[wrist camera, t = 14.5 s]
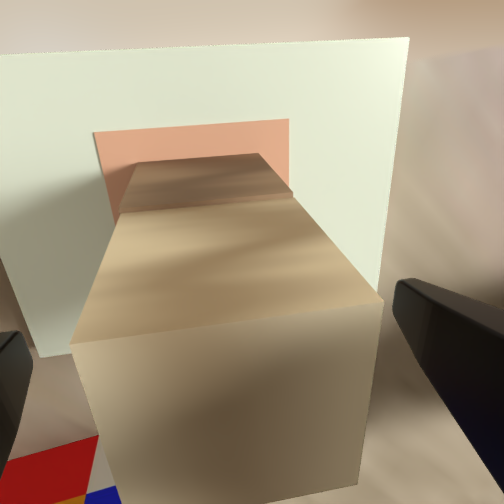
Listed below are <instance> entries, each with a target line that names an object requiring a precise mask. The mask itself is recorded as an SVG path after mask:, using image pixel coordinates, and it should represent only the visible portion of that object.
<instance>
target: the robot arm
mask: <svg viewBox="0 0 504 504" xmlns="http://www.w3.org/2000/svg"><path fill="white" fill-rule="evenodd" d="M392 310H393V314H394V317H395V319H396V321H397V323H398V325H399V327H400V329H401V331H402V333H403V334H404V336H405V338H406V340H407V342H408V344H409V346H410V348H411V350H412V352H413V354H414V356H415V358H416V360H417V361H418V363H419V365H420V367H421V368H422V370H423V371H424V373H425V375H426V376H427V378H428V379H429V381H430V382H431V384H432V385H433V387H434V388H435V390H436V391H437V393H438V394H439V396H440V397H441V399H442V400H443V402H444V404H445V405H446V407H447V408H448V410H449V411H450V413H451V414H452V416H453V417H454V419H455V420H456V422H457V423H458V425H459V426H460V428H461V429H462V431H463V432H464V434H465V435H466V437H467V439H468V440H469V442H470V443H471V445H472V446H473V448H474V449H475V451H476V452H477V454H478V455H479V457H480V458H481V460H482V461H483V463H484V464H485V466H486V467H487V469H488V470H489V472H490V474H491V475H492V477H493V478H494V480H495V481H496V483H497V484H498V486H499V487H500V489H501V490H502V492H503V493H504V310H502V309H499V308H497V307H494V306H491V305H488V304H485V303H483V302H480V301H477V300H474V299H472V298H469V297H466V296H463V295H460V294H458V293H455V292H452V291H449V290H446V289H444V288H441V287H438V286H435V285H433V284H430V283H427V282H424V281H421V280H419V279H416V278H408V279H401V280H399V281H397V283H396V286H395V292H394V299H393V305H392ZM32 370H33V359H32V356H31V354H30V351H29V349H28V346H27V344H26V341H25V339H24V336H23V334H22V333H21V332H19V331H9V332H1V333H0V480H1V477H2V474H3V471H4V468H5V466H6V463H7V460H8V457H9V455H10V452H11V449H12V446H13V444H14V441H15V438H16V435H17V432H18V428H19V424H20V420H21V416H22V412H23V408H24V404H25V399H26V395H27V391H28V387H29V383H30V379H31V374H32Z"/></svg>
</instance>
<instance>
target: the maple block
mask: <svg viewBox="0 0 504 504" xmlns="http://www.w3.org/2000/svg"><path fill="white" fill-rule="evenodd" d="M383 308H384V301H383V299H382V298H381V297H380V296H379V295H378V294H377V292H376V291H375V290H374V289H373V288H372V287H371V285H370V284H369V283H368V282H367V281H366V280H365V279H364V277H363V276H362V275H361V274H360V273H359V272H358V270H357V269H356V268H355V267H354V266H353V265H352V263H351V262H350V261H349V260H348V259H347V258H346V256H345V255H344V254H343V253H342V252H341V251H340V250H339V248H338V247H337V246H336V245H335V244H334V243H333V241H332V240H331V239H330V238H329V237H328V236H327V234H326V233H325V232H324V231H323V230H322V229H321V227H320V226H319V225H318V224H317V223H316V222H315V220H314V219H313V218H312V217H311V216H310V215H309V214H308V212H307V211H306V210H305V209H304V208H303V207H302V205H301V204H300V203H299V202H298V201H297V200H296V198H295V197H292V198H282V199H271V200H260V201H249V202H239V203H228V204H217V205H206V206H196V207H185V208H174V209H163V210H153V211H142V212H131V213H121V214H120V217H119V219H118V222H117V224H116V227H115V229H114V232H113V234H112V237H111V240H110V242H109V245H108V247H107V250H106V252H105V255H104V257H103V260H102V262H101V265H100V267H99V270H98V272H97V275H96V277H95V280H94V283H93V285H92V288H91V290H90V293H89V295H88V298H87V300H86V303H85V305H84V308H83V310H82V313H81V315H80V318H79V320H78V323H77V326H76V328H75V331H74V333H73V336H72V338H71V341H70V343H69V346H70V349H71V352H72V355H73V358H74V361H75V364H76V367H77V370H78V373H79V376H80V379H81V382H82V385H83V388H84V391H85V394H86V397H87V400H88V403H89V407H90V410H91V413H92V416H93V419H94V422H95V425H96V428H97V431H98V434H99V437H100V440H101V443H102V446H103V449H104V452H105V455H106V458H107V461H108V464H109V467H110V470H111V473H112V476H113V479H114V482H115V485H116V488H117V491H118V494H119V497H120V500H121V503H122V504H265V503H270V502H275V501H280V500H285V499H290V498H295V497H299V496H304V495H309V494H314V493H319V492H324V491H329V490H334V489H339V488H343V487H348V486H353V485H357V484H358V477H359V471H360V464H361V457H362V450H363V443H364V437H365V430H366V423H367V416H368V410H369V403H370V396H371V389H372V382H373V376H374V369H375V362H376V355H377V349H378V342H379V335H380V328H381V322H382V315H383Z"/></svg>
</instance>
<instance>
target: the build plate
mask: <svg viewBox="0 0 504 504" xmlns="http://www.w3.org/2000/svg"><path fill="white" fill-rule="evenodd" d="M408 46H409V37H400V38H377V39H353V40H331V41H307V42H285V43H261V44H236V45H215V46H214V45H213V46H189V47H168V48H167V47H166V48H142V49H119V50H97V51H73V52H50V53H28V54H27V53H25V54H2V55H0V258H1V260H2V263H3V265H4V268H5V270H6V273H7V275H8V278H9V280H10V283H11V286H12V288H13V291H14V293H15V296H16V298H17V301H18V303H19V306H20V308H21V311H22V313H23V316H24V319H25V321H26V324H27V326H28V329H29V331H30V334H31V336H32V339H33V341H34V344H35V346H36V349H37V352H38V354H39V357H40V358H43V357H50V356H57V355H64V354H70V353H72V352H71V349H70V346H69V343H70V341H71V338H72V336H73V333H74V331H75V328H76V326H77V323H78V320H79V318H80V315H81V313H82V310H83V308H84V305H85V303H86V300H87V298H88V295H89V293H90V290H91V288H92V285H93V283H94V280H95V277H96V275H97V272H98V270H99V267H100V265H101V262H102V260H103V257H104V255H105V252H106V250H107V247H108V245H109V242H110V240H111V237H112V234H113V232H114V229H115V227H116V224H117V222H118V219H119V217H120V215H119V210H118V208H119V205H120V203H121V201H122V198H123V196H124V194H125V191H126V189H127V187H128V184H129V182H130V180H131V177H132V175H133V173H134V170H135V168H136V166H137V163H138V162H148V161H161V160H174V159H186V158H199V157H212V156H225V155H238V154H251V153H259V154H260V155H261V156H262V158H263V159H264V160H265V161H266V162H267V163H268V164H269V165H270V167H271V168H272V169H273V170H274V171H275V172H276V173H277V174H278V176H279V177H280V178H281V179H282V180H283V181H284V182H285V183H286V185H287V186H288V187H289V188H290V189H291V190H292V191H293V197H295V198H296V200H297V201H298V202H299V203H300V204H301V205H302V207H303V208H304V209H305V210H306V211H307V212H308V214H309V215H310V216H311V217H312V218H313V219H314V220H315V222H316V223H317V224H318V225H319V226H320V227H321V229H322V230H323V231H324V232H325V233H326V234H327V236H328V237H329V238H330V239H331V240H332V241H333V243H334V244H335V245H336V246H337V247H338V248H339V250H340V251H341V252H342V253H343V254H344V255H345V256H346V258H347V259H348V260H349V261H350V262H351V263H352V265H353V266H354V267H355V268H356V269H357V270H358V272H359V273H360V274H361V275H362V276H363V277H364V279H365V280H366V281H367V282H368V283H369V284H370V285H371V287H372V288H373V289H374V290H375V291H376V292H377V288H378V280H379V272H380V264H381V257H382V249H383V241H384V233H385V225H386V218H387V210H388V202H389V194H390V187H391V179H392V171H393V163H394V155H395V148H396V140H397V132H398V124H399V116H400V109H401V101H402V93H403V85H404V77H405V70H406V62H407V54H408Z"/></svg>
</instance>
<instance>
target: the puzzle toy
mask: <svg viewBox="0 0 504 504" xmlns="http://www.w3.org/2000/svg"><path fill="white" fill-rule="evenodd" d="M0 504H122V503H121V500H120V497H119V494H118V491H117V488H116V485H115V482H114V479H113V476H112V473H111V470H110V467H109V464H108V461H107V458H106V455H105V452H104V449H103V446H102V443H101V440H100V437H99V435H97V436H94V437H90V438H87V439H83V440H80V441H76V442H73V443H69V444H66V445H62V446H59V447H55V448H52V449H48V450H45V451H41V452H38V453H34V454H31V455H27V456H24V457H20V458H17V459H13V460H10V461H7V463H6V466H5V468H4V471H3V474H2V477H1V480H0Z"/></svg>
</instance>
